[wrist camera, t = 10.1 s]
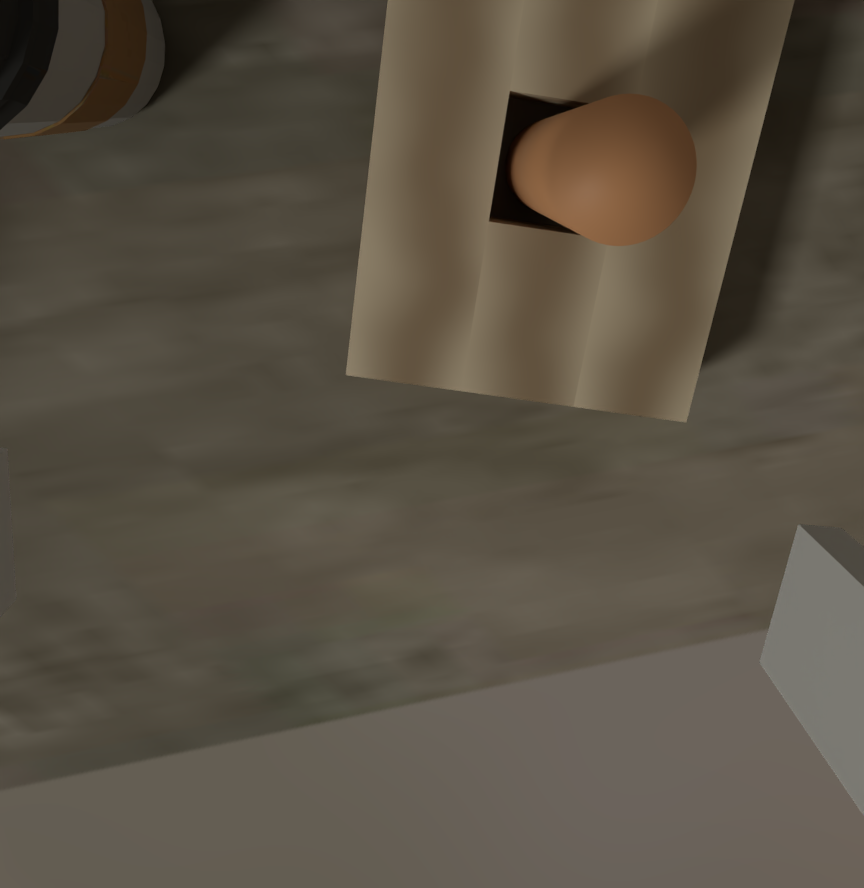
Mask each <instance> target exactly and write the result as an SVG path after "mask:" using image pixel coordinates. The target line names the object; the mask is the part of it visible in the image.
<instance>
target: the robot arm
mask: <svg viewBox="0 0 864 888" xmlns="http://www.w3.org/2000/svg"><path fill="white" fill-rule="evenodd" d="M15 600H16V584H15V568H14V551H13V535H12V518H11V501H10V485H9V468H8V451H7V448H0V617H1V616H2V614H3V613H4V612H5V611H6V610H7V609H8V608H9V607H10V606H11V604H12V603H13V602H14V601H15ZM759 663H760V664H761V666H762V667H763V669H764V670H765V672H766V673H767V674H768V676H769V677H770V679H771V680H772V682H773V683H774V685H775V686H776V688H777V689H778V691H779V692H780V694H781V695H782V697H783V698H784V699H785V701H786V702H787V704H788V705H789V707H790V708H791V710H792V711H793V713H794V714H795V716H796V717H797V718H798V720H799V721H800V723H801V724H802V726H803V727H804V729H805V730H806V732H807V733H808V735H809V736H810V738H811V739H812V740H813V742H814V744H815V745H816V746H817V748H818V749H819V751H820V752H821V754H822V755H823V757H824V758H825V760H826V761H827V763H828V764H829V765H830V767H831V768H832V770H833V771H834V773H835V774H836V776H837V777H838V779H839V780H840V782H841V783H842V785H843V786H844V787H845V789H846V791H847V792H848V793H849V795H850V796H851V798H852V799H853V801H854V802H855V804H856V805H857V807H858V808H859V810H860V811H861V813H862V814H863V816H864V547H863V546H862V545H861V544H860V543H858V542H857V541H856V540H855V539H854V538H853V537H852V536H850V535H849V534H848V533H847V532H846V531H845V530H844V529H842V528H835V527H824V526H814V525H803V524H798V527H797V531H796V535H795V538H794V542H793V545H792V549H791V552H790V556H789V559H788V563H787V566H786V570H785V574H784V577H783V581H782V584H781V588H780V591H779V595H778V598H777V602H776V605H775V609H774V612H773V616H772V620H771V623H770V627H769V630H768V634H767V637H766V641H765V645H764V648H763V652H762V655H761V659H760V662H759Z"/></svg>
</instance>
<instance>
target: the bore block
mask: <svg viewBox="0 0 864 888" xmlns="http://www.w3.org/2000/svg"><path fill="white" fill-rule="evenodd" d="M794 1H795V0H388V4H387V12H386V21H385V30H384V39H383V48H382V57H381V66H380V75H379V84H378V93H377V102H376V111H375V120H374V128H373V137H372V146H371V155H370V164H369V173H368V182H367V191H366V200H365V209H364V218H363V227H362V235H361V244H360V253H359V262H358V271H357V280H356V289H355V298H354V307H353V316H352V325H351V334H350V342H349V351H348V360H347V369H346V375H349V376H356V377H363V378H371V379H378V380H385V381H392V382H399V383H407V384H414V385H421V386H428V387H435V388H443V389H450V390H457V391H464V392H471V393H478V394H486V395H493V396H500V397H507V398H514V399H522V400H529V401H536V402H543V403H550V404H557V405H565V406H572V407H579V408H586V409H593V410H601V411H608V412H615V413H622V414H629V415H636V416H644V417H651V418H658V419H665V420H672V421H680V422H687V418H688V414H689V410H690V406H691V402H692V398H693V394H694V390H695V386H696V383H697V379H698V375H699V371H700V367H701V363H702V359H703V355H704V351H705V348H706V344H707V340H708V336H709V332H710V328H711V324H712V320H713V316H714V312H715V309H716V305H717V301H718V297H719V293H720V289H721V285H722V281H723V277H724V273H725V270H726V266H727V262H728V258H729V254H730V250H731V246H732V242H733V238H734V235H735V231H736V227H737V223H738V219H739V215H740V211H741V207H742V203H743V199H744V196H745V192H746V188H747V184H748V180H749V176H750V172H751V168H752V164H753V161H754V157H755V153H756V149H757V145H758V141H759V137H760V133H761V129H762V125H763V122H764V118H765V114H766V110H767V106H768V102H769V98H770V94H771V90H772V87H773V83H774V79H775V75H776V71H777V67H778V63H779V59H780V55H781V51H782V48H783V44H784V40H785V36H786V32H787V28H788V24H789V20H790V16H791V12H792V9H793V5H794ZM619 94H641V95H645V96H650V97H652V98H655V99H657V100H659V101H661V102H663V103H665V104H666V105H668V106H669V107H670V108H671V109H673V110H674V111H675V112H676V113H677V114H678V115H679V116H680V117H681V119H682V120H683V121H684V123H685V124H686V126H687V128H688V130H689V132H690V134H691V136H692V139H693V142H694V146H695V150H696V159H697V169H696V178H695V183H694V186H693V190H692V193H691V195H690V197H689V200H688V202H687V204H686V205H685V207H684V209H683V210H682V212H681V213H680V214H679V216H678V217H677V218H676V219H675V220H674V221H673V223H672V224H671V225H670V226H668V227H667V228H666V229H665V230H663V231H662V232H661V233H659V234H658V235H656V236H654V237H652V238H650V239H648V240H646V241H643V242H640V243H637V244H633V245H627V246H610V245H605V244H600V243H597V242H595V241H592V240H590V239H588V238H586V237H584V236H582V235H580V234H578V233H576V232H574V231H573V230H571V229H569V228H567V227H565V226H563V225H561V224H559V223H557V222H555V221H553V220H551V219H550V218H548V217H546V216H544V215H542V214H540V213H538V212H536V211H534V210H532V209H530V208H529V207H527V206H525V205H524V204H522V203H521V202H520V201H519V200H518V199H517V198H516V197H515V196H514V195H513V193H512V191H511V190H510V188H509V185H508V183H507V179H506V174H505V161H506V156H507V152H508V149H509V147H510V145H511V143H512V141H513V140H514V138H515V137H516V136H517V135H518V134H519V133H520V132H521V131H522V130H523V129H524V128H526V127H527V126H528V125H530V124H532V123H534V122H537V121H540V120H543V119H546V118H549V117H552V116H554V115H557V114H560V113H563V112H566V111H569V110H572V109H575V108H578V107H581V106H584V105H586V104H589V103H592V102H595V101H598V100H601V99H604V98H607V97H610V96H614V95H619Z"/></svg>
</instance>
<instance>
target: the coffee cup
mask: <svg viewBox="0 0 864 888" xmlns="http://www.w3.org/2000/svg"><path fill="white" fill-rule="evenodd" d="M164 60H165V40H164V35H163V30H162V24H161V20H160V17H159V15H158V13H157V11H156V9H155V6H154V4H153V2H152V0H0V139H12V138H21V137H31V136H40V135H50V134H59V133H68V132H76V131H84V130H88V129H90V128H96V127H104V126H113V125H116V124H118V123H120V122H122V121H125V120H127V119H129V118H131V117H133V116H134V115H135V114H136V113H137V112H139V111H140V110H141V109H142V108H143V107H144V106H145V105H147V103H148V102H149V100H150V98H151V97H152V95H153V94H154V92H155V91H156V89H157V87H158V85H159V82H160V78H161V75H162V72H163V68H164Z"/></svg>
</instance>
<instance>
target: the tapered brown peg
mask: <svg viewBox="0 0 864 888" xmlns="http://www.w3.org/2000/svg"><path fill="white" fill-rule="evenodd" d="M696 169H697V159H696V150H695V146H694V142H693V139H692V136H691V134H690V132H689V130H688V128H687V126H686V124H685V123H684V121H683V120H682V119H681V117H680V116H679V115H678V114H677V113H676V112H675V111H674V110H673V109H671V108H670V107H669V106H668V105H666V104H665V103H663V102H661V101H659V100H657V99H655V98H652V97H650V96H645V95H641V94H619V95H614V96H610V97H607V98H604V99H601V100H598V101H595V102H592V103H589V104H586V105H584V106H581V107H578V108H575V109H572V110H569V111H566V112H563V113H560V114H557V115H554V116H552V117H549V118H546V119H543V120H540V121H537V122H534V123H532V124H530V125H528V126H527V127H526V128H524V129H523V130H522V131H521V132H520V133H519V134H518V135H517V136H516V137H515V138H514V140H513V141H512V143H511V145H510V147H509V149H508V152H507V156H506V161H505V174H506V179H507V183H508V185H509V188H510V190H511V191H512V193H513V195H514V196H515V197H516V198H517V199H518V200H519V201H520V202H521V203H522V204H524V205H525V206H527V207H529V208H530V209H532V210H534V211H536V212H538V213H540V214H542V215H544V216H546V217H548V218H550V219H551V220H553V221H555V222H557V223H559V224H561V225H563V226H565V227H567V228H569V229H571V230H573V231H574V232H576V233H578V234H580V235H582V236H584V237H586V238H588V239H590V240H592V241H595V242H597V243H600V244H605V245H610V246H627V245H633V244H637V243H640V242H643V241H646V240H648V239H650V238H652V237H654V236H656V235H658V234H659V233H661V232H662V231H663V230H665V229H666V228H667V227H668V226H670V225H671V224H672V223H673V221H674V220H675V219H676V218H677V217H678V216H679V214H680V213H681V212H682V210H683V209H684V207H685V205H686V204H687V202H688V200H689V197H690V195H691V193H692V190H693V186H694V183H695V178H696Z"/></svg>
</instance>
